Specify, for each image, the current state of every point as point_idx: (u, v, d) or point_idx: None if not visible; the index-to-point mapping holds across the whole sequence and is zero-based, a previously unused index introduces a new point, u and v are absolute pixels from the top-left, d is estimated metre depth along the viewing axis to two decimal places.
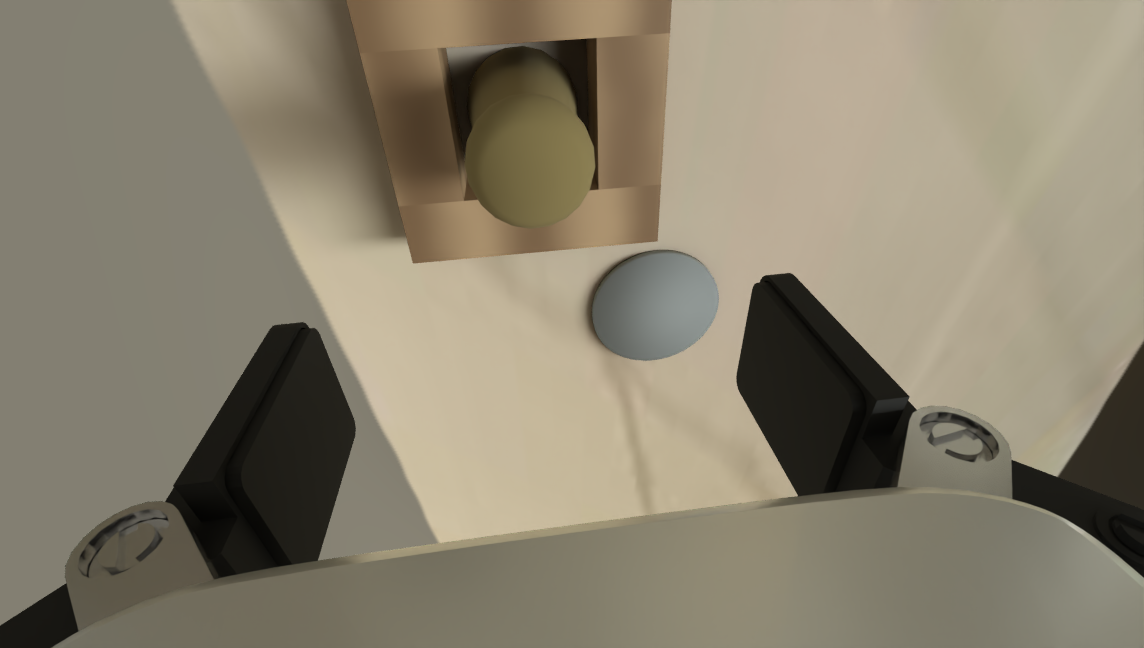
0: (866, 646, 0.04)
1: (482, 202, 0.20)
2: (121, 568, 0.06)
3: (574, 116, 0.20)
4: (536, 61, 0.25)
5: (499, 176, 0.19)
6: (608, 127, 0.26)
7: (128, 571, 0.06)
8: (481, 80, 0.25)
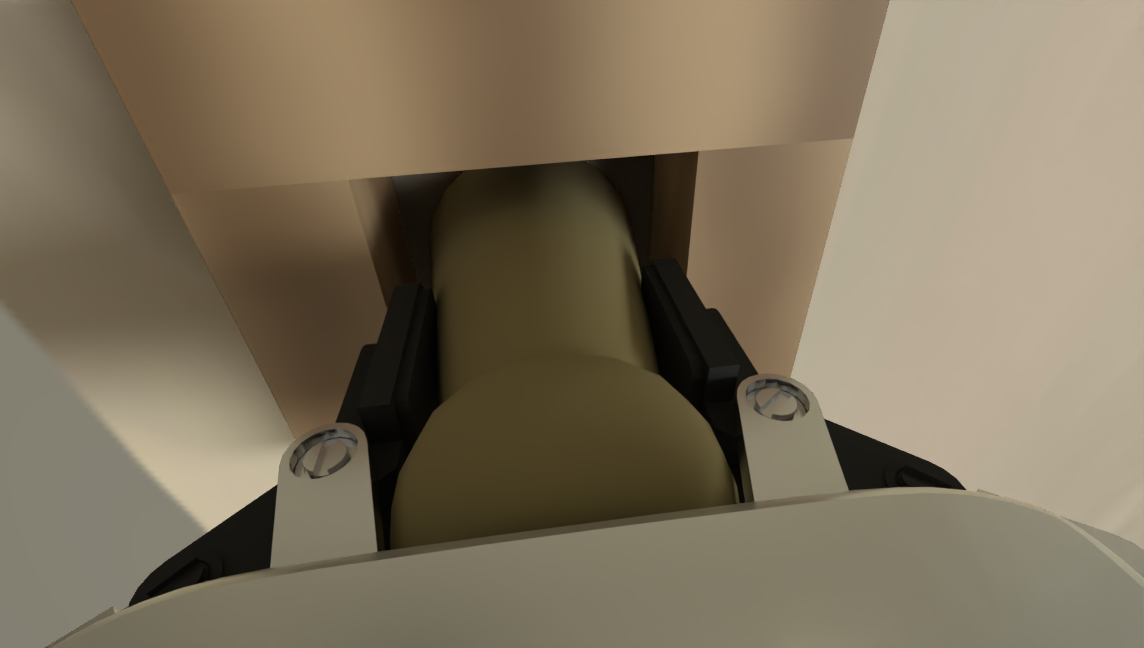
0: (866, 646, 0.04)
1: None
2: (315, 474, 0.07)
3: (700, 443, 0.07)
4: (563, 187, 0.12)
5: None
6: None
7: (318, 480, 0.07)
8: (452, 224, 0.13)
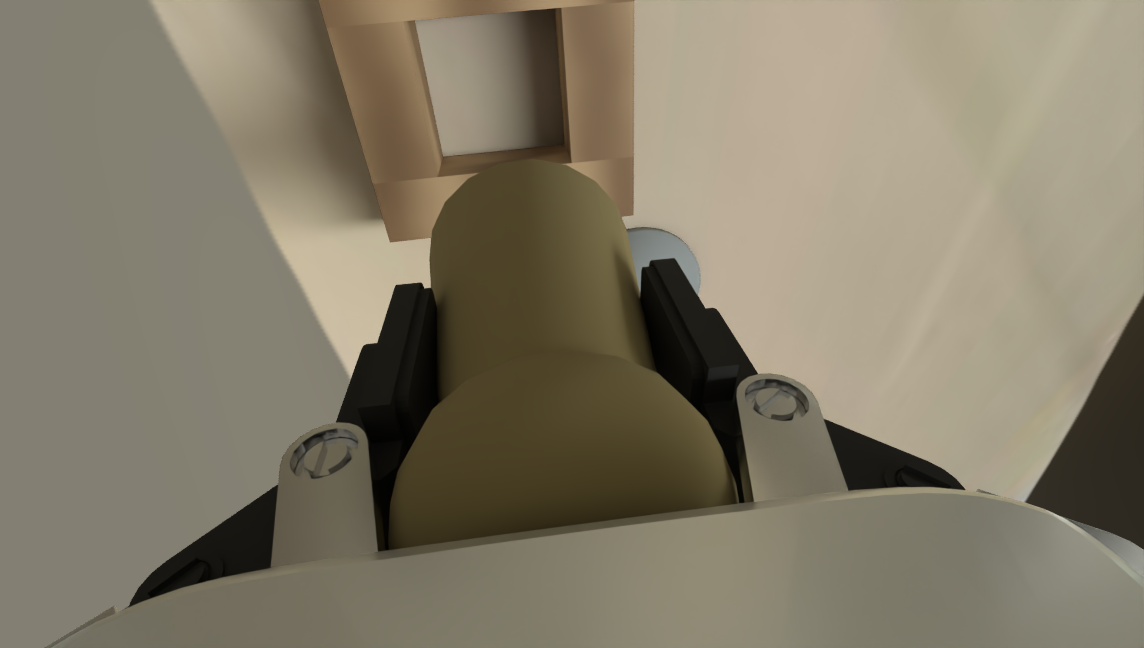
0: (866, 646, 0.04)
1: None
2: (316, 474, 0.07)
3: (698, 435, 0.07)
4: (561, 197, 0.13)
5: None
6: (577, 99, 0.26)
7: (319, 480, 0.07)
8: (452, 234, 0.13)
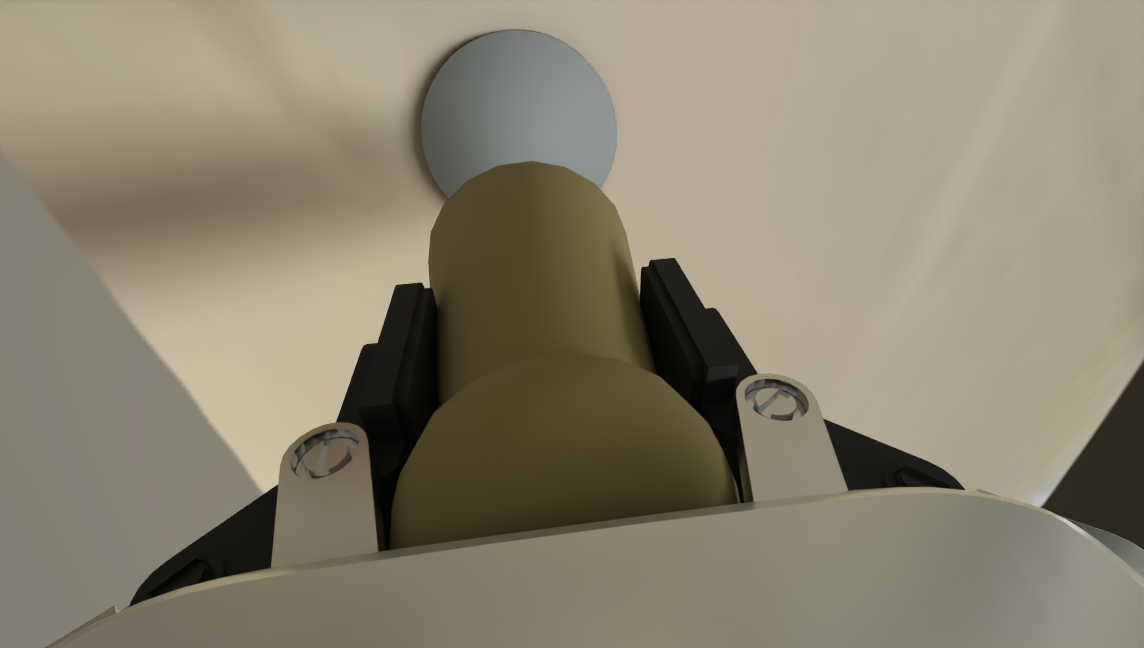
0: (866, 646, 0.04)
1: None
2: (316, 474, 0.07)
3: (700, 439, 0.07)
4: (561, 199, 0.13)
5: None
6: None
7: (319, 480, 0.07)
8: (451, 236, 0.13)
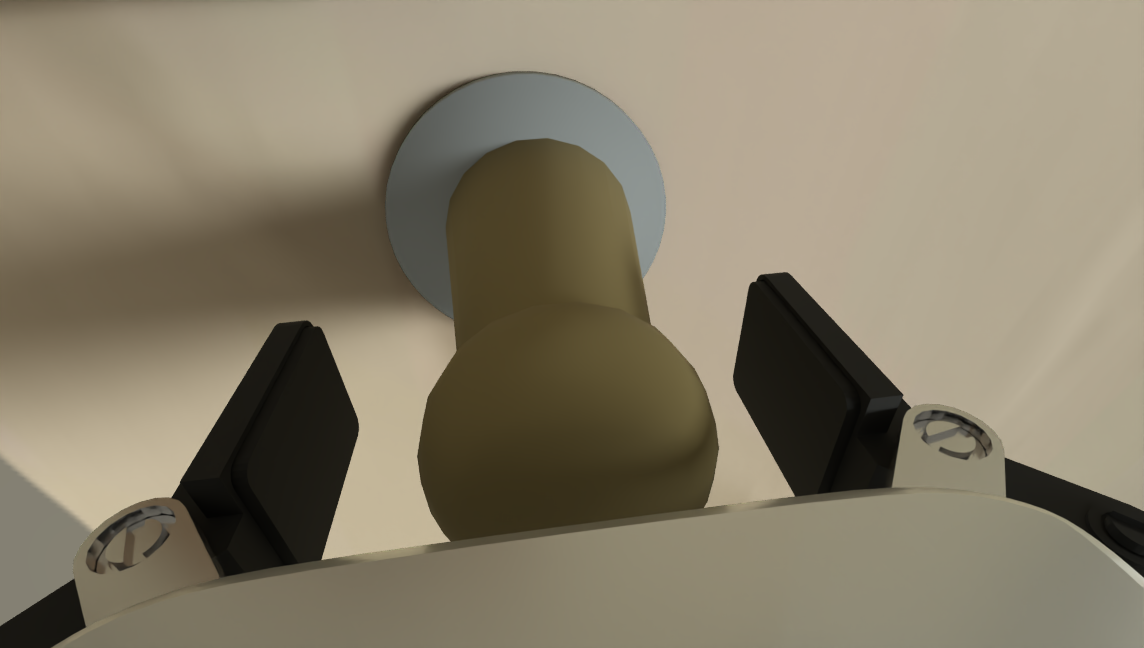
0: (866, 646, 0.04)
1: None
2: (128, 564, 0.06)
3: (686, 376, 0.08)
4: (573, 174, 0.14)
5: (499, 525, 0.08)
6: None
7: (135, 567, 0.06)
8: (471, 202, 0.14)
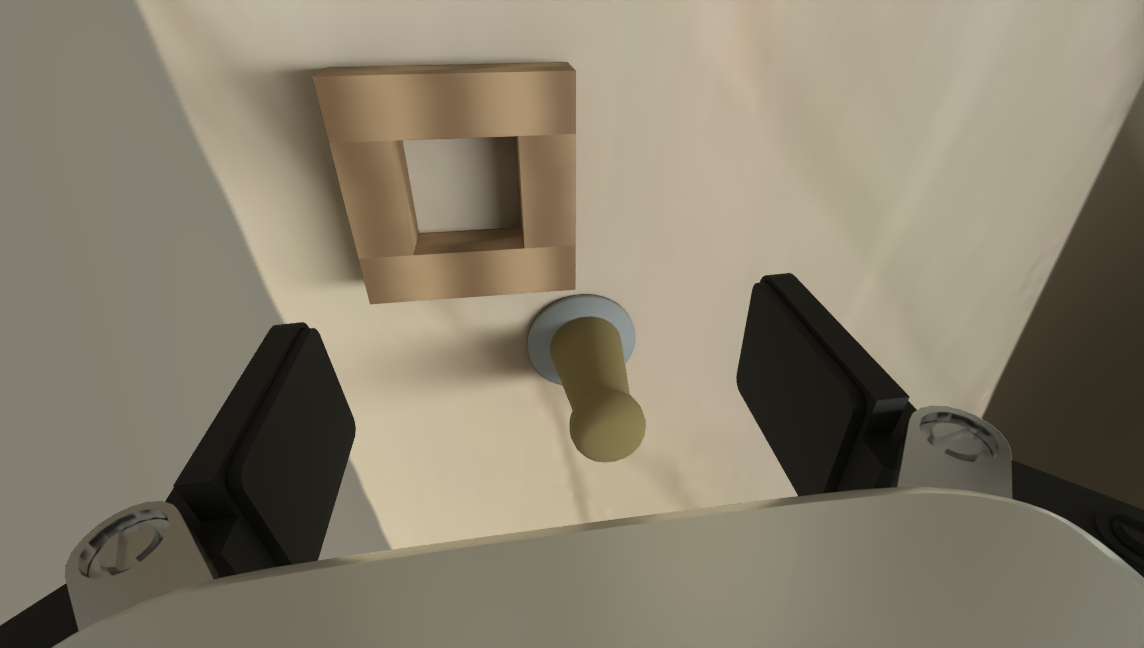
0: (866, 646, 0.04)
1: (579, 450, 0.35)
2: (120, 568, 0.06)
3: (637, 409, 0.34)
4: (603, 335, 0.40)
5: (594, 443, 0.34)
6: (530, 201, 0.33)
7: (127, 571, 0.06)
8: (567, 344, 0.40)
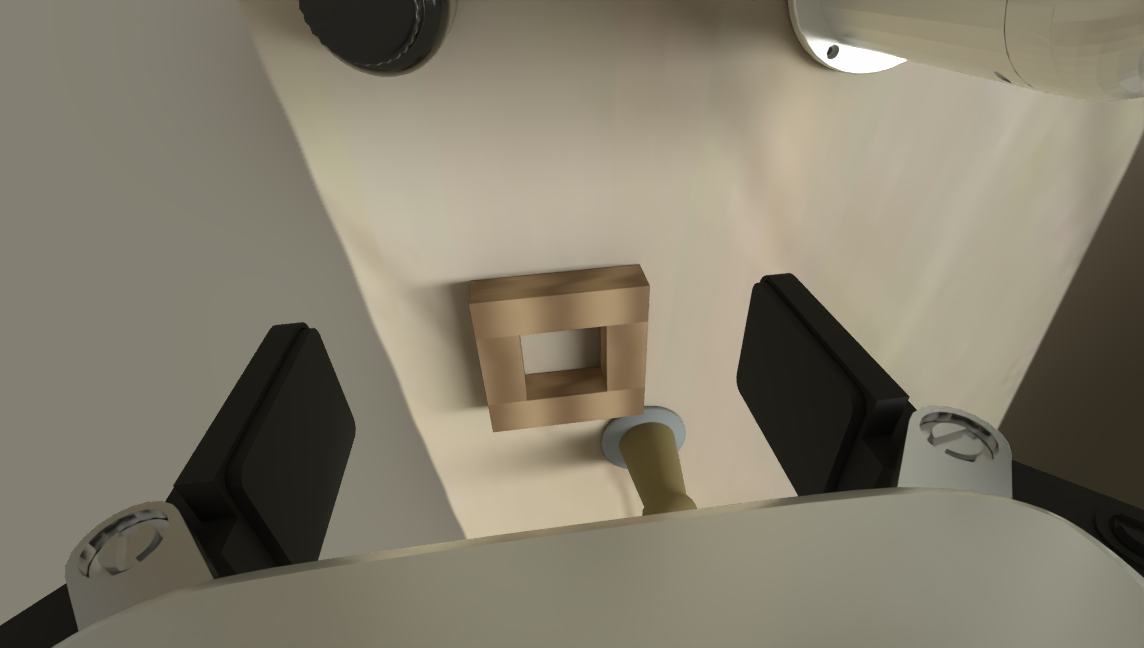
0: (865, 646, 0.04)
1: None
2: (120, 568, 0.06)
3: (694, 508, 0.46)
4: (662, 439, 0.52)
5: None
6: (613, 363, 0.44)
7: (127, 571, 0.06)
8: (635, 447, 0.52)
